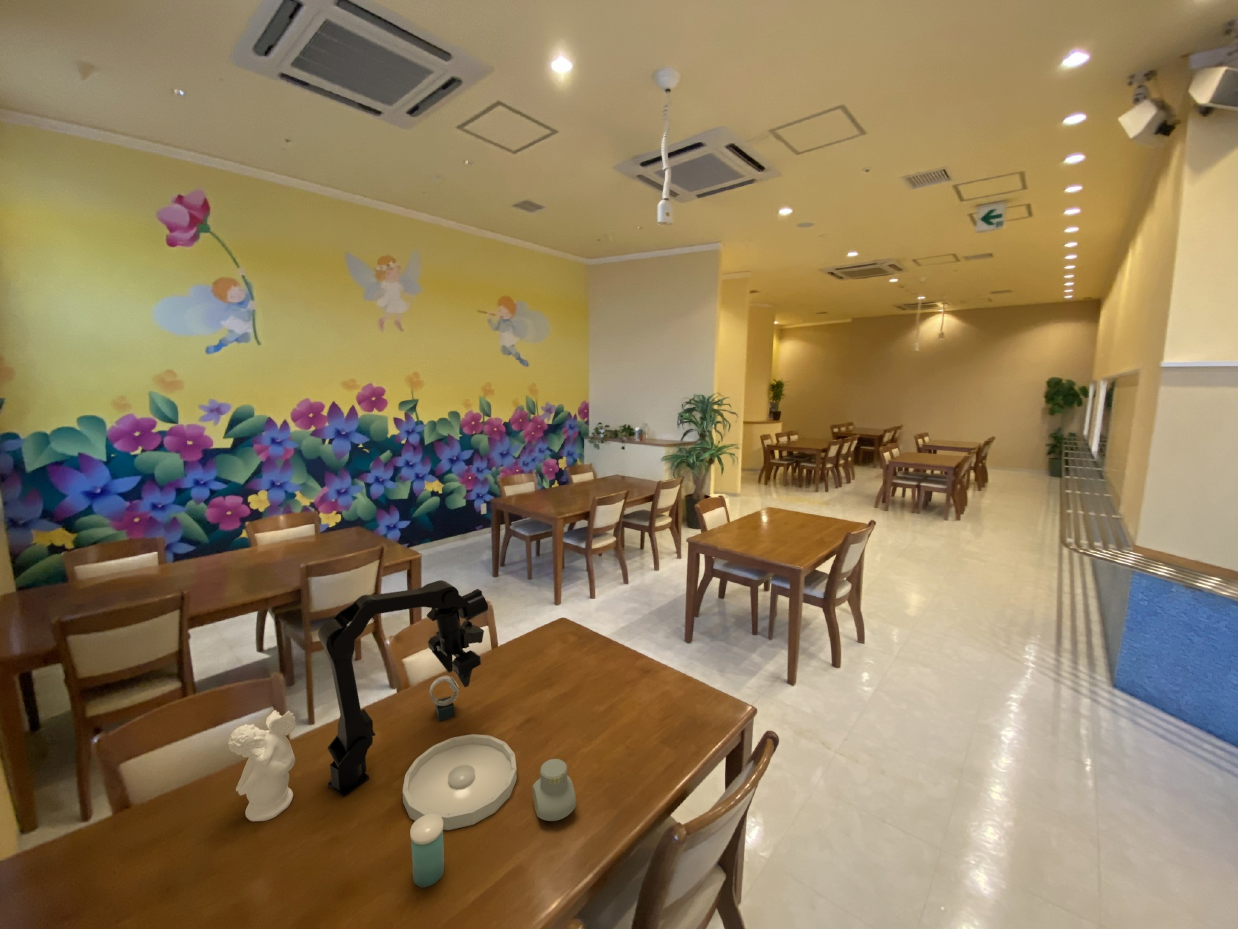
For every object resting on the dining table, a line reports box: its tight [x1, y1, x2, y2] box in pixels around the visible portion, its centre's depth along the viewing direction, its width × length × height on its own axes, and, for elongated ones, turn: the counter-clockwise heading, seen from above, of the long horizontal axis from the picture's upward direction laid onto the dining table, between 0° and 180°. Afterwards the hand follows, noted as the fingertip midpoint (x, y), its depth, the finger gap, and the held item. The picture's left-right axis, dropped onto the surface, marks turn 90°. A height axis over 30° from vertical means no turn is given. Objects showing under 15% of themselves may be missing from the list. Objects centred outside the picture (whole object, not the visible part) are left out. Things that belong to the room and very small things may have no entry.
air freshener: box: [531, 758, 577, 822], centre depth 109 cm, size 11×8×10 cm
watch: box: [428, 675, 460, 722], centre depth 140 cm, size 6×8×11 cm
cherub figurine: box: [227, 709, 296, 822], centre depth 109 cm, size 12×12×22 cm
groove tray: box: [402, 733, 518, 831], centre depth 116 cm, size 25×25×3 cm
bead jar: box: [409, 814, 445, 888], centre depth 94 cm, size 6×6×10 cm
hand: (458, 679), depth 133 cm, fingers open, 9 cm apart
